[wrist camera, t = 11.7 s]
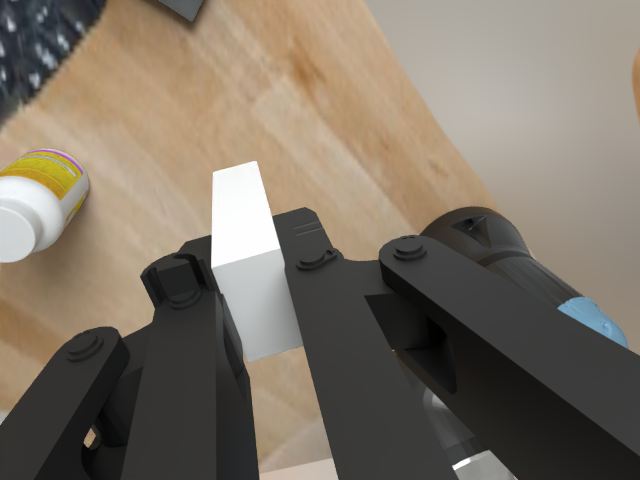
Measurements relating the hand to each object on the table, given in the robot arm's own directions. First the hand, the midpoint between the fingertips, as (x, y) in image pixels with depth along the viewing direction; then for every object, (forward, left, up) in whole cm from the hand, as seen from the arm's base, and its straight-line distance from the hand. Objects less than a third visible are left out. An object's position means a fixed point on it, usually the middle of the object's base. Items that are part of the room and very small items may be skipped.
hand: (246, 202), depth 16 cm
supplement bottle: (+10, +17, -33) cm, 38 cm away
